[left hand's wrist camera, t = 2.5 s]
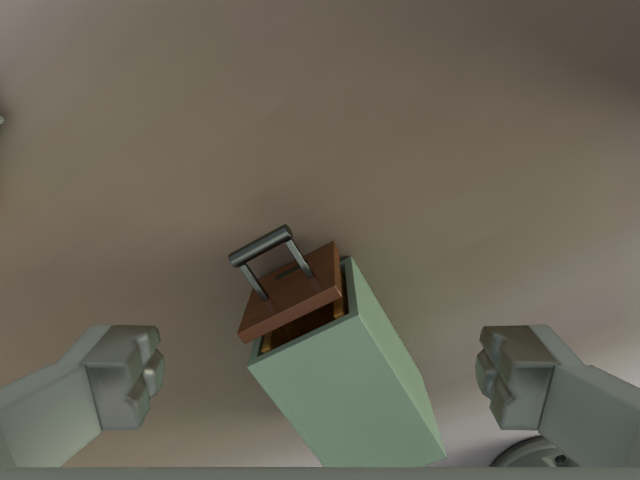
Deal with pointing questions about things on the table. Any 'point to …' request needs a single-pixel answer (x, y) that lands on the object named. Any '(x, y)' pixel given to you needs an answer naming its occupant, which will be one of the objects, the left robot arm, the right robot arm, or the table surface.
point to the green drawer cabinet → (352, 388)
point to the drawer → (291, 291)
